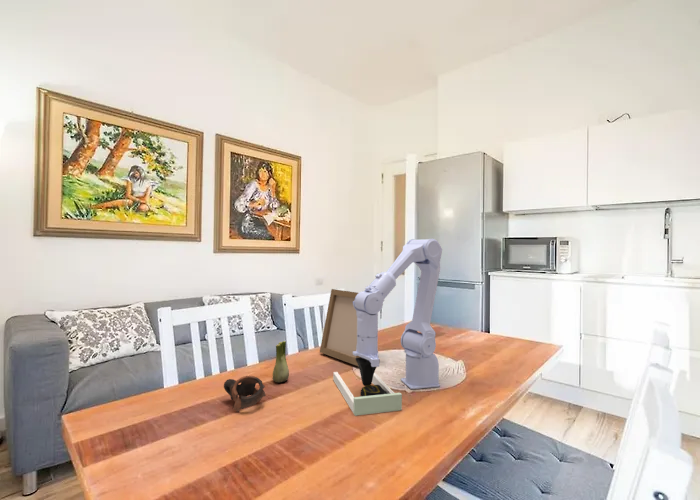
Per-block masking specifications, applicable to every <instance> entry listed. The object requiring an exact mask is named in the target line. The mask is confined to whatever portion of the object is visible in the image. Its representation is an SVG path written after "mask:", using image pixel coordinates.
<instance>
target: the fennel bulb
mask: <svg viewBox="0 0 700 500" xmlns="http://www.w3.org/2000/svg"><path fill="white" fill-rule="evenodd" d="M286 349H287V341H285V340H283V341H280V342H278V343H277V344H276V345H275V352H276V353H275V354H276V355H275V365H274V367H273V370H272V377H271V379H272V381H273V382H274V383H278V384H279V383H280V384H281V383H284V382H286V381H287V380H288V379H289V377H290V369H289V366H288V363H287V357H286Z"/></svg>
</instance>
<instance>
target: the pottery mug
mask: <svg viewBox="0 0 700 500" xmlns="http://www.w3.org/2000/svg"><path fill="white" fill-rule="evenodd" d="M257 384H258V385H259V386H258V387H259V388H257V387H256V385H257ZM223 388H224V391H225V392H226V393H227V395H229V396H230V400H231V401H234V405H233V410H234V411H236V412H237V413H240V411H241V410H243V409H247V408H249V407H252V406H255V405H257V403H259V402H260V401H261V400H262V399H263V397H266V393H265V390H264V388H266V386H265V385H264V383H263V381H262V380H261V378H259V377H257V376H254V375H244V376H241V377H239V378H238V379H237V380H235V379H234V378H229V379H226V380H225V381H224V382H223Z"/></svg>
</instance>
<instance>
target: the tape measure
mask: <svg viewBox="0 0 700 500" xmlns="http://www.w3.org/2000/svg"><path fill="white" fill-rule="evenodd" d="M381 394H388V393H387V392H386V391H385V390H384V389H382V387H381V386H380V385H374V384H371V385H367V386H364V385H363V386H362V388H361V390H360V395H359V397H362V396H372V395H381Z"/></svg>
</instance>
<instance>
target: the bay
mask: <svg viewBox="0 0 700 500" xmlns="http://www.w3.org/2000/svg"><path fill="white" fill-rule="evenodd" d="M332 374H333V376H332V379H333V382H334V384H335V385H336V388H337V389H338V390H339V392H340V394H341V395H342V397H343V398H344V400H345V402H346V404H347V405H348V408H350V410H351V412H352V414H353V415H354V416H355V417H357V416H363V415H372V414H373V415H374V414H378V413H379V414H380V413H382V414H383V413H388V412H397V411H399V412H400V411H402V410H403V404H402V403H403V394H402V393H401V392H394V391H393V390H392V388H390V387H389V385H388V384H386V382H385V381H384V380H383V379H382V378H381V377H380V376H379V375H378V373H376V371H375V372H374V375H373V379H372V383H371V384H372V385H380V386H381V387H382V389H384V390H385V391H386V392H387V393H388V394H381V395H372V396H362V397H360V396H354V394H353V393H352V392H351V390H350V388H349V387H348V385H347V384H346V383H345V380H343V378H342V376H341V375H340V374H339V372H338V371H333V373H332Z"/></svg>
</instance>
